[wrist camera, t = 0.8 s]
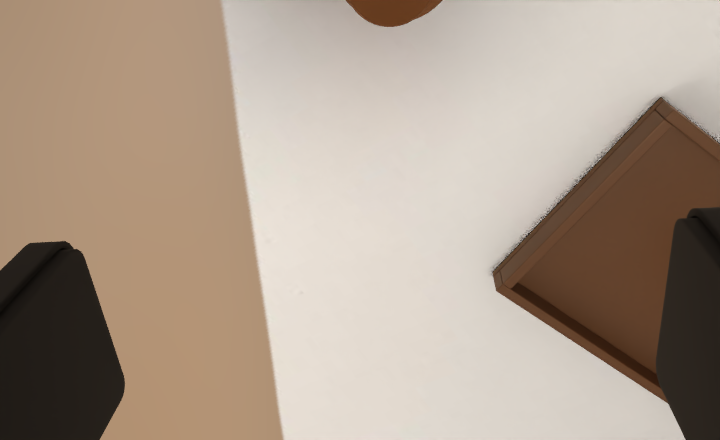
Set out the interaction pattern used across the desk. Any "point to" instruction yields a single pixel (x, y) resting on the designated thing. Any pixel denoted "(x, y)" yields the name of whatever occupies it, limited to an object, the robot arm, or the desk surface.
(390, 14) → the bottle
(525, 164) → the desk surface
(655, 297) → the tray
